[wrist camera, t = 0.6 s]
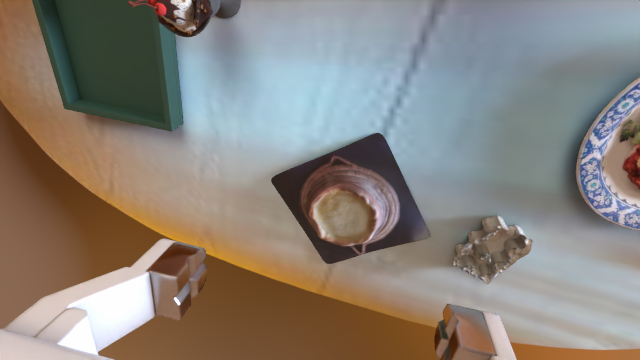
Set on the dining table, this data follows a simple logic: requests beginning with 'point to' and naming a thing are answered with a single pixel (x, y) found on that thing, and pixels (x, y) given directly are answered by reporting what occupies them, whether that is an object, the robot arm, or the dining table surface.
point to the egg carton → (492, 249)
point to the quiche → (352, 201)
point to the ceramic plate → (613, 160)
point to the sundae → (189, 13)
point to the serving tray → (113, 60)
